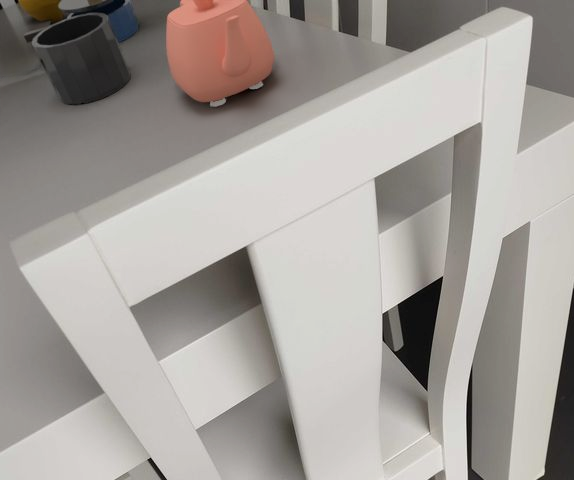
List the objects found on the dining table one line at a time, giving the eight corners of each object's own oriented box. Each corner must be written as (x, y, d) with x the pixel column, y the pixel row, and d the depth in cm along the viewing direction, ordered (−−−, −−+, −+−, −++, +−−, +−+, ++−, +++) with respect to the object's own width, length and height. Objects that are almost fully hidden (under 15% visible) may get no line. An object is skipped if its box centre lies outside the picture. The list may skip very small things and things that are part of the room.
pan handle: (27, 43, 105) (23, 36, 104) (27, 40, 106) (24, 33, 106) (69, 29, 105) (66, 22, 104) (70, 27, 106) (67, 19, 105)
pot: (57, 112, 89) (28, 55, 83) (62, 82, 97) (35, 28, 91) (131, 90, 89) (107, 30, 82) (130, 61, 97) (108, 5, 90)
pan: (77, 56, 104) (64, 29, 101) (79, 34, 112) (68, 8, 109) (140, 36, 104) (129, 9, 100) (138, 16, 112) (128, -10, 108)
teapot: (214, 134, 74) (182, 33, 65) (164, 86, 87) (131, -4, 78) (307, 93, 76) (287, -11, 67) (244, 52, 89) (221, -39, 80)
